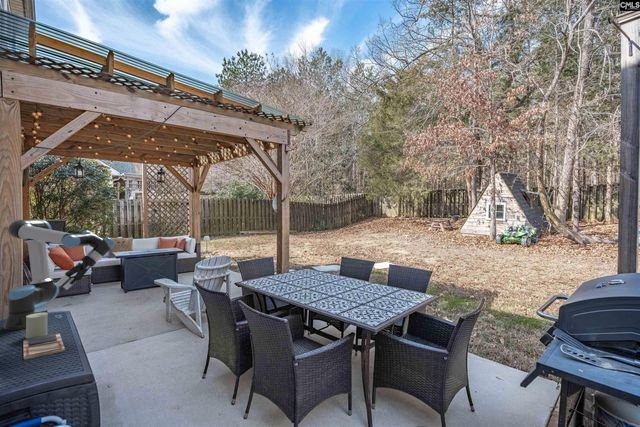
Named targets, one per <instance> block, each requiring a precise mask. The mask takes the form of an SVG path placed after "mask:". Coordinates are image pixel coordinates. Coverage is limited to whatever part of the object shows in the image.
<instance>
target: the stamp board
mask: <svg viewBox="0 0 640 427" xmlns="http://www.w3.org/2000/svg"><path fill="white" fill-rule="evenodd" d="M22 343H23V344H22V346H23V361H27V360H31V359H35V358H40V357H45V356H49V355H53V354H58V353H62V352H65V351H66V347H65V345H64V342H63V339H62V337H61V334H60V332H59V333H50V334H49V333H48V334H47V335H43V336H38V337H33V338H28V339H27V338H26V339H23V340H22Z"/></svg>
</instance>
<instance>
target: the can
mask: <svg viewBox="0 0 640 427" xmlns="http://www.w3.org/2000/svg"><path fill="white" fill-rule="evenodd" d="M48 315H49V313H48V312H35V314H31V315H28V316H26V328H25V337H24V338H25V339H26V340H27V339H28V338H33V337H38V336H43V335H48V318H49V316H48Z"/></svg>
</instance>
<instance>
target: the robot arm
mask: <svg viewBox="0 0 640 427" xmlns="http://www.w3.org/2000/svg"><path fill="white" fill-rule="evenodd" d="M7 231H8V234H9V236H11V237H13V238H15V239H21V240H23V241H24V243H26V244H27V249H28V256H29V264H30V272H31V273H30V274H31V278H32V279H31V282H30V283H29V284H26V285H21V286H20V285H19V286H17V287H14V288H12V289H10V290H9V292H8V297H7V298H8V311H7V312H8V315H7V317H6V319H5V322H4V323H3V329H4V330H7V331H15V330H16V331H17V330H24V329H26V316H28V315H31V314H35V313H36V305H39V304H43V303H47V302H50V301H53V300H54V299H55V298H56V297H57V296H58V295H59V294H60V293H59V292H60V287H61V286H62V285H63V284H65V285H63V286H62V288H63V289H65V290H66V291H68V290H69V289H70V288H71V287H72V286H73V285H74V284H75V283H76V282H77V281H81V279H82V278H83V277H84V276H85V274H86V273H87V272H88V271H89V269H90V268H93V267H94V266H95V265H96V264H97V262H99V261H100V260H102V258H103V257H105V255H106V254H108V252H110V251H111V250H112V249H113V248H114V247H115V246H116V242H115V241H114V240H113V239H112V238H110V237H108V236H106V237H104V238H102V237H101V236H98V235H97V234H96V233H94V232H93V231H90V230H85V231H82V232H81V233H79V234H75V233H69V232H65V231H59V230H54V229H53V228H52V225H51V224H50V223H49V222H48V221H47V220H45V219H18V220H15V221H12V222H11V223H10V224H9V225H8V227H7ZM47 242H48V243H52V244H57V245H63V246H64V247H65V248H78V247H86V246H89V247H91V248H92V249H91V250H90V251H89V252H87V254H86V255H84V256H83V257H82V258H81V261H82V262H78V263H77V264H76V265H75V266H74V267H72V268H70V269H68V271H66V272H65V273H64V276H62V277H61V278H60V279H59V280H58V281H57V282H54V279H53V278H51V277H50V275H51V274H50V269H49V268H50V267H49V260H48V253H47V245H46V243H47ZM73 275H74V276H73ZM71 277H72V278H71ZM68 279H69V280H68ZM67 281H68V282H67ZM66 282H67V283H66Z"/></svg>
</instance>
